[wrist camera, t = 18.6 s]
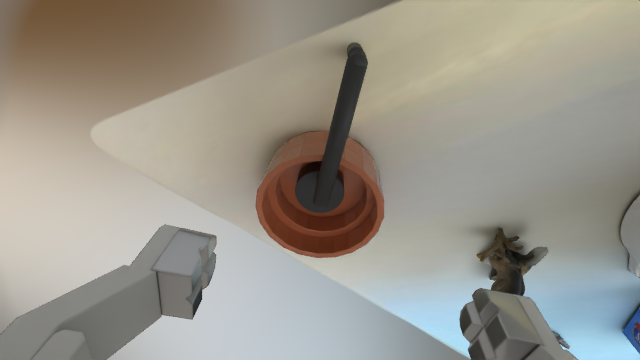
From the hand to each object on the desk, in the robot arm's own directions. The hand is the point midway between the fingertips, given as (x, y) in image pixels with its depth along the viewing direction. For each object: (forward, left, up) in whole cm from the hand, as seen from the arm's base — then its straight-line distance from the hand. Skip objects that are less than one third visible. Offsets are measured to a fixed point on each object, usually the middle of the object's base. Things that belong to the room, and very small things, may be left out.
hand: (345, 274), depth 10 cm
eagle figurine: (-22, +15, -21) cm, 34 cm away
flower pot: (0, +10, -21) cm, 23 cm away
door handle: (0, +4, -21) cm, 21 cm away
